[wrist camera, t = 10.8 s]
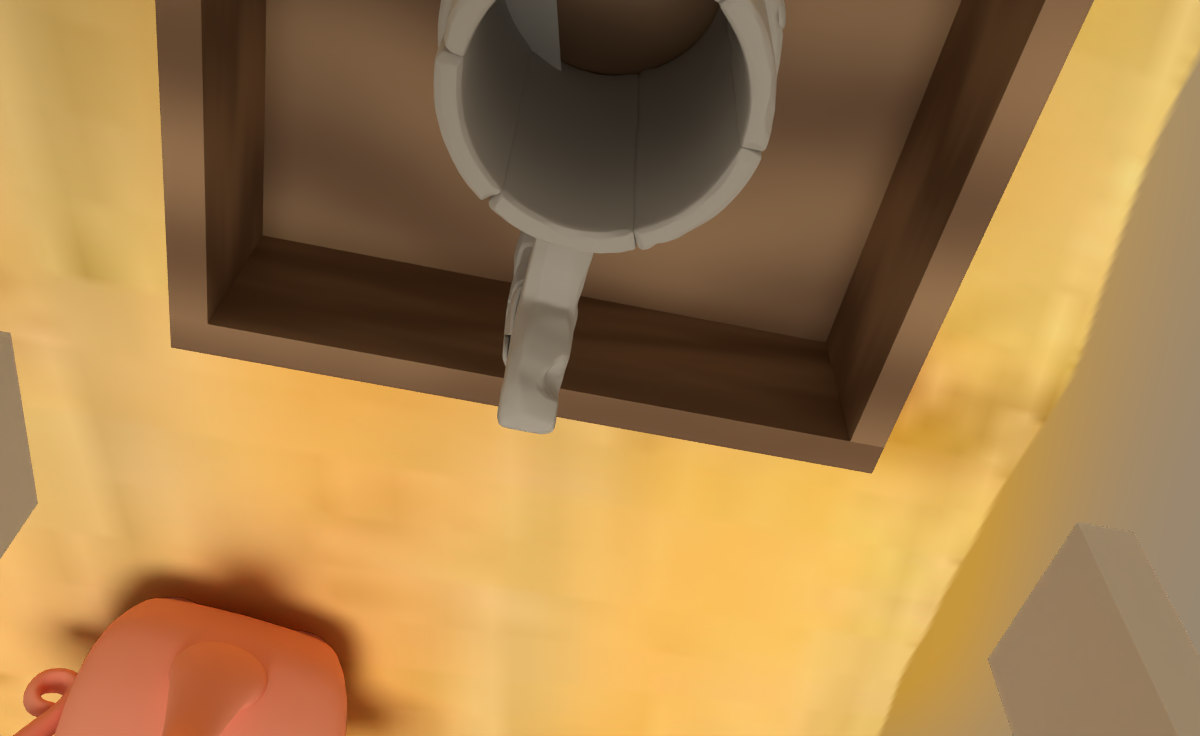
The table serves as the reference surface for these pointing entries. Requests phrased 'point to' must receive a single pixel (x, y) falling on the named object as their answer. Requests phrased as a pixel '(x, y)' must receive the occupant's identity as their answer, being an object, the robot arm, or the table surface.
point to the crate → (614, 280)
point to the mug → (593, 157)
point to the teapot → (193, 679)
